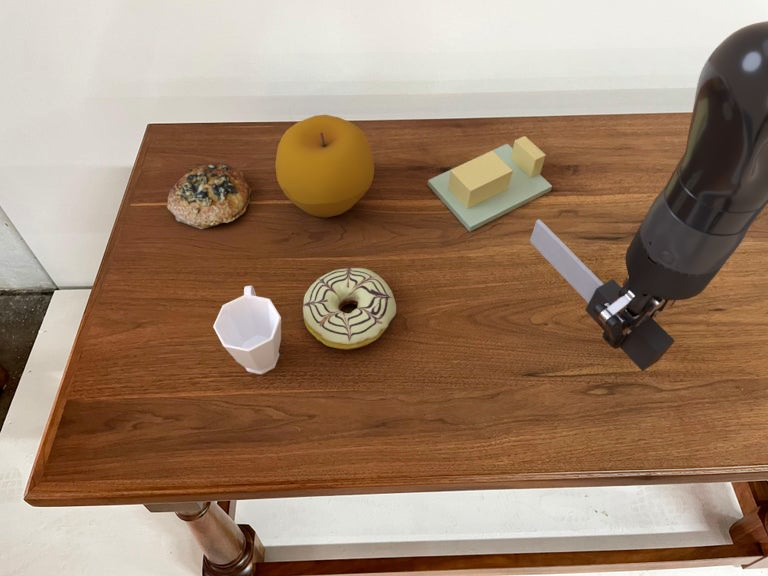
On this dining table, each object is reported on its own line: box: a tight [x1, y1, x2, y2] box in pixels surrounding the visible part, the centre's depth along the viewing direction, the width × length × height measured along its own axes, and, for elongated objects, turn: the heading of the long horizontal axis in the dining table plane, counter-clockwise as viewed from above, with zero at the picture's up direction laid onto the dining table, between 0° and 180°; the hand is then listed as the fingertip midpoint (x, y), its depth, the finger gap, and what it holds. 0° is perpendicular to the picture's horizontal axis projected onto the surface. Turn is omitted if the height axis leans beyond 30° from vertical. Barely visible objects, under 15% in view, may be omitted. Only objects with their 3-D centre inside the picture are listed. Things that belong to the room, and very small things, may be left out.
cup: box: [212, 284, 282, 375], centre depth 67 cm, size 7×10×8 cm
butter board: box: [427, 143, 553, 232], centre depth 84 cm, size 10×14×1 cm
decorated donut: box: [302, 267, 397, 350], centre depth 71 cm, size 10×11×4 cm
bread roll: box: [166, 162, 252, 230], centre depth 81 cm, size 11×11×5 cm
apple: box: [274, 114, 375, 219], centre depth 78 cm, size 13×13×11 cm
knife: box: [529, 218, 676, 372], centre depth 67 cm, size 2×20×4 cm, turn 32°
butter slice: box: [511, 135, 546, 178], centre depth 84 cm, size 4×2×4 cm, turn 32°
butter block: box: [448, 150, 513, 209], centre depth 81 cm, size 4×7×4 cm, turn 122°
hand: (621, 335), depth 66 cm, fingers closed on knife, 2 cm apart
